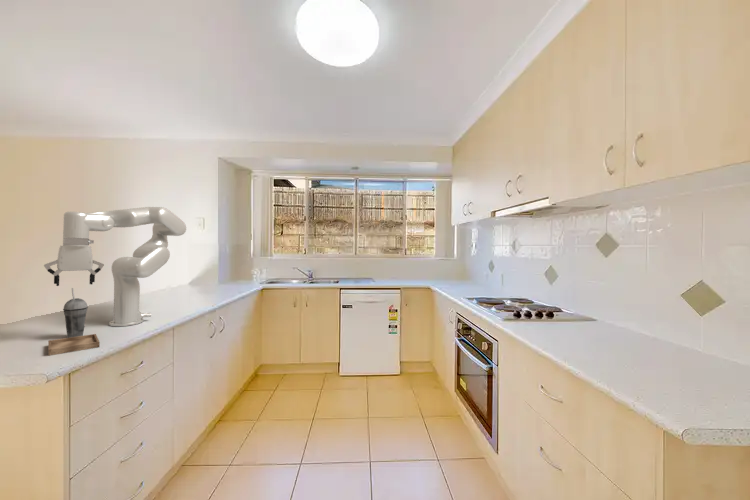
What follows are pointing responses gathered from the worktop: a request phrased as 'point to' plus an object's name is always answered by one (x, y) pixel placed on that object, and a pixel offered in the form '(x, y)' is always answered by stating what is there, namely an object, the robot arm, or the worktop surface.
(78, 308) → the beverage cup
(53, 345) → the tray
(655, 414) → the worktop surface
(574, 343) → the worktop surface
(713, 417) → the worktop surface
